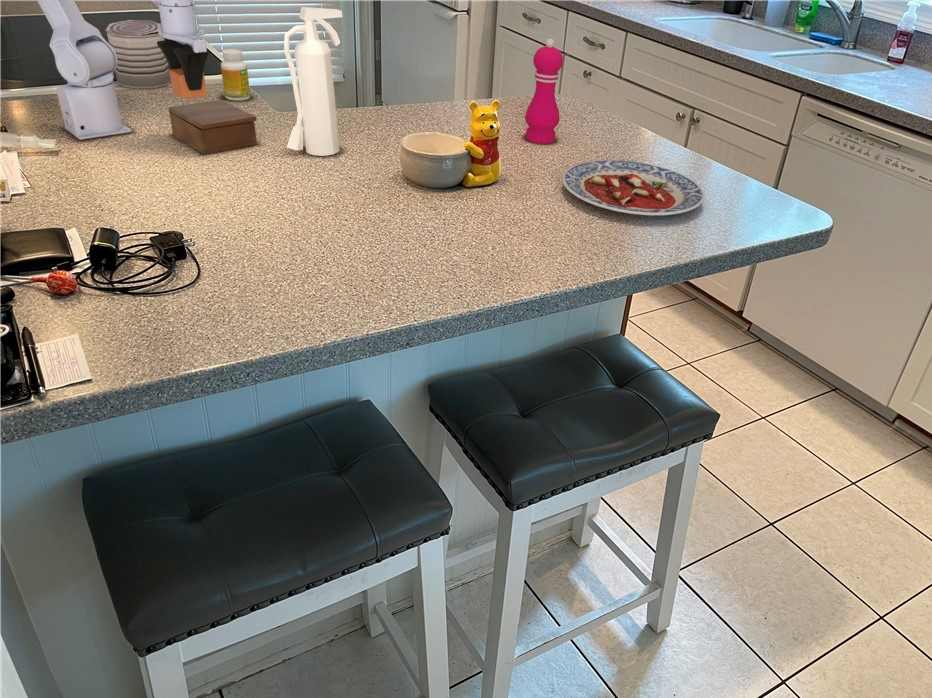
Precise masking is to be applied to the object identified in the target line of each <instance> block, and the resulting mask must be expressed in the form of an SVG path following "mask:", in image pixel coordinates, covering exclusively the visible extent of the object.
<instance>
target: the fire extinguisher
mask: <svg viewBox="0 0 932 698" xmlns="http://www.w3.org/2000/svg"><path fill="white" fill-rule="evenodd" d="M339 18H343V11H342V10H340V9H338V8H325V7H309V6H301V7H300V13H299V19H300V20H302V21H303V24H300V25H294V26H293V27H292V28H290V29H289V30H288V31H286V32H285V33H284V37H283V38H284V39H283V41H284V42H283V44H284V45H283V52H284V55H285V58H286V63H287V65H288V68H289V72H290V76H291V77H290V78H291V83H292V90H293V94H294V100H295V105H296V111H297V117H296V123H295V125H294V126H293V127H292V130H291V133H290V136H289V139H288V142H287V144H286V148H287V149H290V150H294V151H303V149H304V147H305V152H306V153H307V154H309V155H311V156H318V157H319V156H321V157H325V156H331V155H335V154H337V153H340V150H341V149H340V139H339V130H338V118H337V106H336V96H335V95H336V94H335V86H334V75H333V65H332V53H331V48H330V46H329V44H328V42H326V41H324V40H322V39H320V37H319V33H318V30H317V25H316V22H317V23H318V24H320V25H321V26H322V28H323V29H324V30H325V31H326V32H327V34H328V36H329V38H330V40H331V42H332V45H333V46H335V47H338V46H339V45H340V44H341V40H340V37H339V35H338V32H337V31H336V30H335V28H334V27H333V26H332V25H331V24H330V23H328V22H327V21H326V19H339ZM324 19H325V20H324ZM315 21H316V22H315ZM298 32H300V33H301V32H303V39H301V40H300V41H298V42H296V43H295V47H294V60H295V64H294V61H293V58H292V55H291V52H290V51H291V49H290V43H291V42H290V41H291V40H290V38H291V37H292V36H294V35H295V34H296V33H298ZM304 145H305V146H304Z"/></svg>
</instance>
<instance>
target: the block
mask: <svg viewBox="0 0 932 698" xmlns="http://www.w3.org/2000/svg"><path fill="white" fill-rule="evenodd" d="M169 72H170V78H171V82H170V85H171V89H172V93H173V94H174V95H176V96H178V97H180V98H182V99H183V100H184V99H191V98H192V99H193V98H200V97H207V96H208V92H207V87H206V79H205V73H204V72H203V78H202V87H201V89H200V90H193V91H190V90H189V89H188V86H187V84H186V81H185V77H184V73H183V70H182V68H181V69H172V70H171V69H169Z"/></svg>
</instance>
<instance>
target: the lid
mask: <svg viewBox="0 0 932 698" xmlns="http://www.w3.org/2000/svg"><path fill="white" fill-rule="evenodd" d="M168 112H171V113H173V114H175V115H177V116H179V117H180V118H182V119H184V120H186V121H188V122H190V123H192V124H193V125H195V126H197V127H199V128H201V129H208V128H215V127H221V126H227V125H233V124H239V123H245V122H252V121H254V122H256V121H257V116H256V115H254V114H252V113H249V112H248V111H246V110H243V109H241V108H239V107H237V106H235V105H233V104H230V103H228V102H227V101H224V100H222V99H217V100H210V101H204V102H196V103H189V104H180V105H175V106H168Z"/></svg>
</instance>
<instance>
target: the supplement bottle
mask: <svg viewBox="0 0 932 698" xmlns="http://www.w3.org/2000/svg"><path fill="white" fill-rule="evenodd" d="M222 58H223V59H224V60H222V61H221V62H220V72H221V78H222V79H221V80H222V87H223V95H224V98H225V99H227V100H228V101H235V102H236V101H237V102H239V101H247V100H249V99H250V98H251V91H250V81H249V73H248V71H249V70H248V64H247V63H246V62H245V61H244V60H243V51H242V50H240V49H237V48H236V49H235V48H226V49H224V50H222Z"/></svg>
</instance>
